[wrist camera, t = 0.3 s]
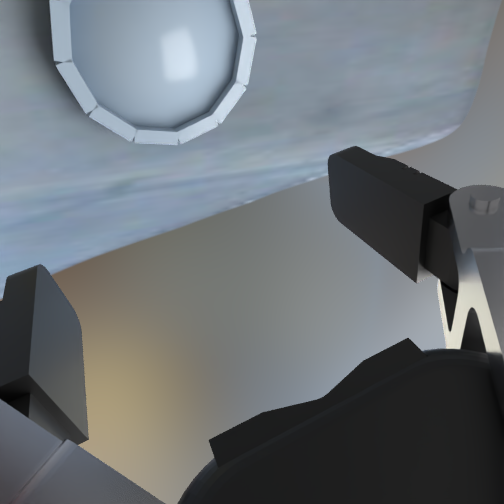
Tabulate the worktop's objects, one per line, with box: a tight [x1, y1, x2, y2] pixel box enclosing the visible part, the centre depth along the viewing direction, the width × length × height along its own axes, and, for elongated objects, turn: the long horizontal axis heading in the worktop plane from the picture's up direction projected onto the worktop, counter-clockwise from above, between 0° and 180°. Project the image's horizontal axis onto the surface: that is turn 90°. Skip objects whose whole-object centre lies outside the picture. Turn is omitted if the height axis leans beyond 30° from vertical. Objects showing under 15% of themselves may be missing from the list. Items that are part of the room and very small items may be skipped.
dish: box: [49, 0, 257, 145], centre depth 26 cm, size 13×13×2 cm
